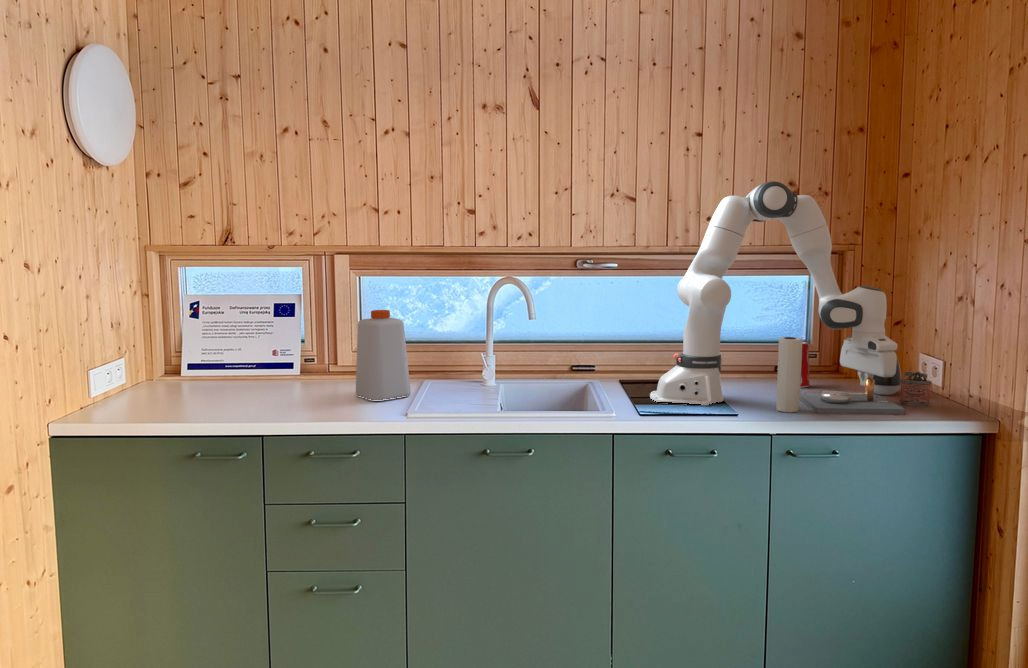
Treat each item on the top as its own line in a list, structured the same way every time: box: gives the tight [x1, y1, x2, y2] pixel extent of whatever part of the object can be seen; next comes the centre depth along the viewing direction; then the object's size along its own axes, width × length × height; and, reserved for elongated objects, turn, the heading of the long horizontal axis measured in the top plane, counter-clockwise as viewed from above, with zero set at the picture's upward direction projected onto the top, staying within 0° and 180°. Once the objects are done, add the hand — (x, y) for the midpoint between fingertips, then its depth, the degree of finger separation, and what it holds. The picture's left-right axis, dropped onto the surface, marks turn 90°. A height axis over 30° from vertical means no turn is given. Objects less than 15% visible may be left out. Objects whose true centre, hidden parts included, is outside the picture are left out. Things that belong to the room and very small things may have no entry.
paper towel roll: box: [775, 336, 804, 413], centre depth 207 cm, size 7×6×21 cm
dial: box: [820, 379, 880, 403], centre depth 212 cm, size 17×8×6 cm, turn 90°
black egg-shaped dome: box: [872, 357, 903, 396], centre depth 228 cm, size 10×10×15 cm
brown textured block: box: [898, 370, 933, 408], centre depth 213 cm, size 8×3×10 cm, turn 59°
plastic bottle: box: [355, 309, 412, 400], centre depth 231 cm, size 15×15×28 cm
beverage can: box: [800, 341, 810, 389], centre depth 240 cm, size 6×6×15 cm
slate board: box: [800, 393, 906, 415], centre depth 213 cm, size 24×18×2 cm
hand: (865, 386), depth 215 cm, fingers closed
